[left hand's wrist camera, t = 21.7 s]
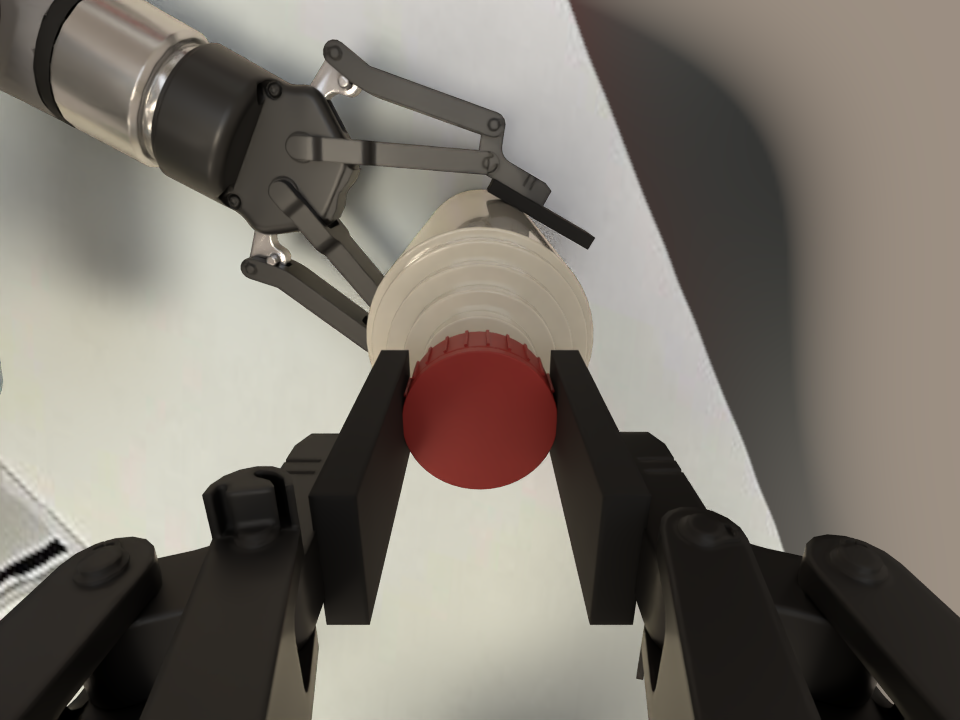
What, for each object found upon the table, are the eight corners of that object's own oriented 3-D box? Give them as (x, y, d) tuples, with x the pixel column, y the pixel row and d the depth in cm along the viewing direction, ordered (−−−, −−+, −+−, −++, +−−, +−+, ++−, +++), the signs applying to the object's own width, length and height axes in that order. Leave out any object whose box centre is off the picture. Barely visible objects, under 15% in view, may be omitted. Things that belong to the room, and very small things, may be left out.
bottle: (468, 163, 35) (446, 182, 12) (560, 238, 37) (699, 383, 14) (400, 259, 38) (268, 434, 14) (490, 325, 39) (504, 577, 16)
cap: (436, 306, 14) (430, 323, 12) (576, 358, 14) (587, 382, 13) (388, 432, 15) (378, 462, 14) (518, 476, 16) (522, 509, 14)
